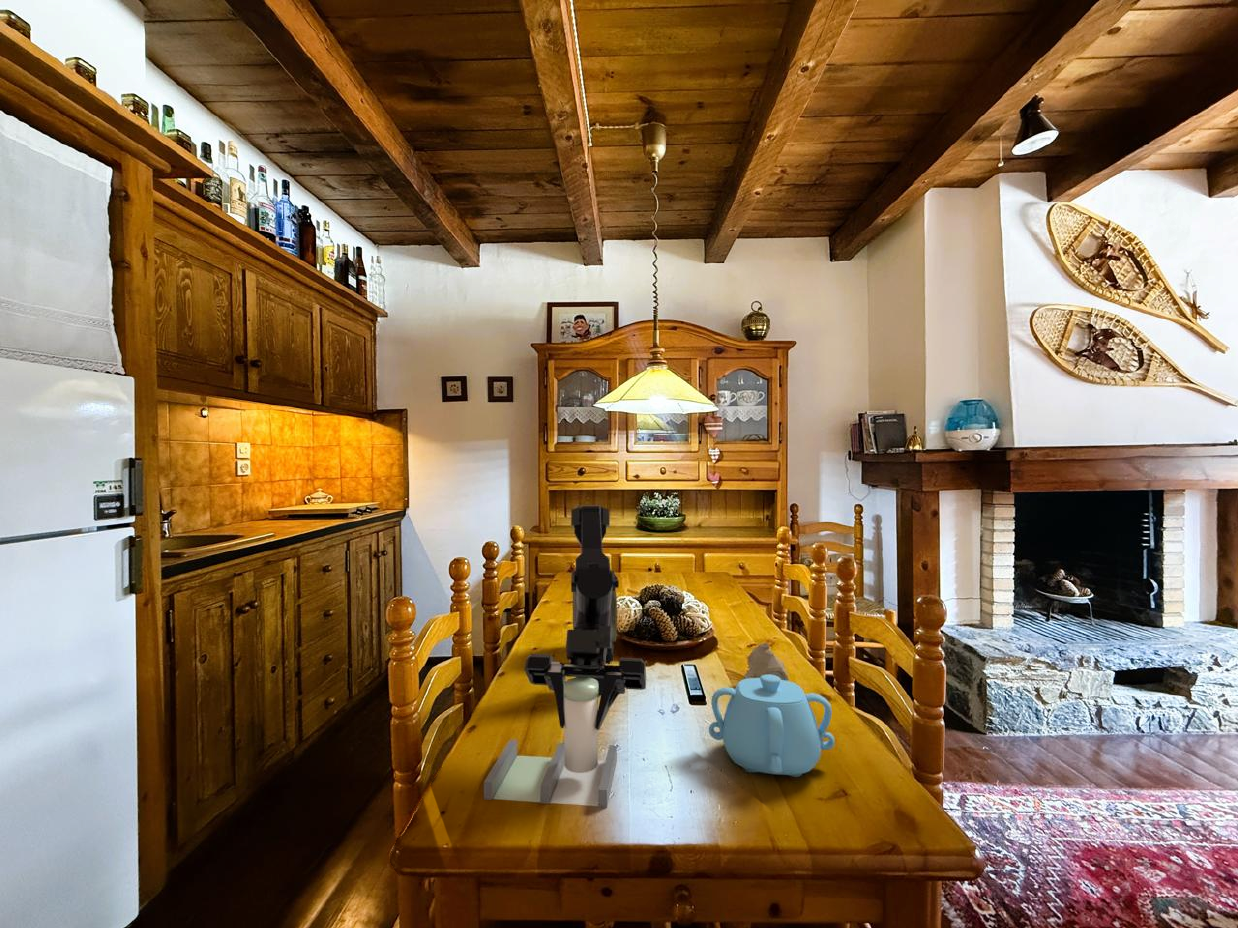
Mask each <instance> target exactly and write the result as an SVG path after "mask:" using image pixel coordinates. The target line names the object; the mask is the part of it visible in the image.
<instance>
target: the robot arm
mask: <svg viewBox="0 0 1238 928" xmlns="http://www.w3.org/2000/svg"><path fill="white" fill-rule="evenodd" d="M610 523H611V522H610V509H609V508H606V507H604V505H603V506H600V505H596V504H595V505H593V504H592V505H585V504H584V505H580V506H578V505H577V506H576V508H572V509H571V510H570V527H571V528H573V529H574V531H573V532H574V537H575V538H576V540H577V541H578V543H579V545H580V547H581V548H580V549H581V550H580V551H581V552H580V554H579V555H578V556H577V557H576V558H575V570H571V575H570V576H571V577H570V578H571V580H570V582H571V583H570V588H571V589H570V591H571V593H573V592H576V596H577V607H578V609H577V615H576V622H575V627H574V629H567V630H566V641H565V642H566V643H565V653H566V658H567V660H569V663H563V662H559V661H555V660H554V656H553V654H543V653H541V654H540V653H531V654H530V655H529V656H527V658H526V659H525V664H524V668H523V669H524V672H525V675H526V676H527V679H528V681H529V683H530V684H531V685H535V686H547V688H548V690H549V691H553V692H554V696H555V701H556V707H557V708H556V709H557V713H558V714H557V715H558V722H559V726H560V729H564V682H565V681H567V678H568V677H569V678H575V677H589V678H593V679H595V680H597V681H598V695H600V698H599V699H600V700H599V702H598V713H597V719H596V730H598V731H600V729H601V727H602V725H603V723H604V721H605V718H606V717H607V715H608V712H609V710H610V708H611V707H612V705H613V704H614V702H615V701H616V699H617V698H618V696H619V695H623V694H625V693H626V690H640V691H642V690H646V689H647V688H646V687H647V668H646V662H645V660H644V659H643V658H641V657H640V658H639V657H638V658H637V657H619V663H618V664H619V665H611V663H612V662H614V645H615V643H614V642H615V641H612V626H609V622H610V612H611V598H612V591H615V590H616V589H617V588H618V589H619V587H620V585H619V584H620V583H619V582H620V580H619V578H618V575H616V573H615V570H614V569H611V562H610V557H608V556H607V555H606V554H605V553H604V552H603V540H604V538H605V536H606V534H607V528H609V527H610ZM616 591H617V590H616ZM606 653H607V654H606Z"/></svg>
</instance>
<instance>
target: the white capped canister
mask: <svg viewBox="0 0 1238 928" xmlns="http://www.w3.org/2000/svg"><path fill="white" fill-rule="evenodd" d="M598 697H599V694H598V681H597V680H595V679H593V678H589V677H570V678H568V679H566V680H565V682H564V728H563V729H564V734H563V735H564V737H563V738H564V739H563V740H564V742H563V743H564V765H565V768H566V769H567V770H569V771H571V772H575V773H585V772H589V771H592V770H594V769H595V768H596V767H597V765H598V760H599V738H598V737H599V733H598V732H599V730H596V719H597V713H598V708H599V698H598Z"/></svg>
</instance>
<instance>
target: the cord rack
mask: <svg viewBox="0 0 1238 928" xmlns="http://www.w3.org/2000/svg"><path fill="white" fill-rule="evenodd" d="M517 742H518V739H509V740H508V742H507V743H506V745H505V747H504V748H503V750H502V752H501V754H499V757H498V758H497V760H496V761H495V763H494V765H493V766H492V768H491V770H490V772H488V775H487V776H486V778H485V780H484V781H483V800H486V801H487V800H489V801H492V800H502V801H515V802H516V801H517V802H518V801H519V802H530V803H540V804H545V805H546V804H547V805H549V804H558V805H559V804H560V805H575V806H588V807H598V808H600V809H601V808H602V809H608V805H609V799H610V796H611V791H612V786H613V781H614V776H615V772H616V767H617V762H618V746H617V745H608V750H607V754H606V759H605V760H599V759H598V765H597V767H596V768H595V769H594V770H592V771H589V772H585V773H575V772H571V771H569V770H567V769H566V768H565V765H564V742H558V743H557V746H556V749H555V752H554V754H553V756H552V757H549V756H548V757H547V756H530V755H518V743H517Z"/></svg>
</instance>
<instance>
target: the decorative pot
mask: <svg viewBox="0 0 1238 928" xmlns="http://www.w3.org/2000/svg"><path fill="white" fill-rule="evenodd" d="M711 696H712V697H711V701H710V702H711V707H712V713H713V714H714V718H715V720H716V721H713V722H711V723H710V724H709V725H708V726H709V727H708V733H709V735H710V736H711V738H713V739H714V740H715V741H716V740H718V741H721V740H722V741H723V744H724V745H723V746H724V748H725V750H726V752H727V754H728V755H729V756H730V758H731V760H732V761H733V762H734V763H735V764H736V765H738V766H739V767H742V769H743V770H744V769H745V770H744V771H745V772H748V773H751V772H753V773H754V772H755V773H758V772H759V773H763V774H769V775H779V776H780V775H781V776H783V775H784V776H786V775H787V776H790V777H792V778H793V777H794V778H800V777H801V776H802V775H803V774H806V773H808V772H810V771H812V770H813V769H814V767H815V766H816V765H817V763H818V762H819V760H820V758H821V755H822V750H824V751H828V750H831V749H833V747H834V746H835V744H836V743H835V737H834V735H833V734H832V733H831V732H827V730H828V727H829V724H830V723H831V719H832V714H833V710H832V706H831V703H830V702H829V701H828V700H827V698H826V697H824V696H822V695H820V694H819V693H818V694H817V693H806V694H805V692H804V690H803V688H802V687H801V686H800V685H799V684H797V683H795V682H793V681H789V680H788V681H785V680H781V679H780V678H779V677H777V676H775V675H762V676H761V677H760V678H748V679H744V678H743V679H740V680H739V681H738V683H737V684H736V686H735V688H731V687H730V686H729V687H728V686H727V687H726V686H725V687H720V688H718V689H717V690H716V691H715V692H713V694H712V695H711ZM722 696H730V698H729V701H728V703H727V706H726V709H725V712H724V717H722V713H721V712H720V709H719V703H718V699H720V697H722ZM810 702H816V703H819V704H822V705H823V707H824V714H823V717H822V719H821V720H822V721H821V722H820V725H819V726H818V722H817V717H816V716H815V713H814V711H813V708H812V707H811V705H810ZM715 728H718V729H719V731H716V729H715ZM824 738H827V739H828V740H827V741H824ZM753 773H752V774H753ZM755 773H754V774H755Z"/></svg>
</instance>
